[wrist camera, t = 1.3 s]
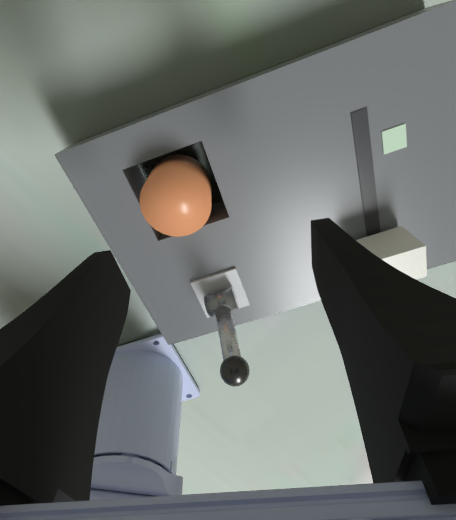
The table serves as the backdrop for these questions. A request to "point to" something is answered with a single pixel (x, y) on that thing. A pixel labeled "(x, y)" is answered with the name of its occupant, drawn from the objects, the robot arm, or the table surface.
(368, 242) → the slider knob
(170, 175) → the push button
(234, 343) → the toggle lever
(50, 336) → the robot arm
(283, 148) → the control panel
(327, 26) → the table surface
